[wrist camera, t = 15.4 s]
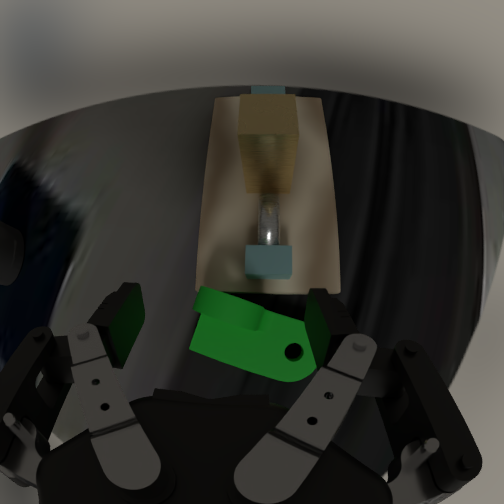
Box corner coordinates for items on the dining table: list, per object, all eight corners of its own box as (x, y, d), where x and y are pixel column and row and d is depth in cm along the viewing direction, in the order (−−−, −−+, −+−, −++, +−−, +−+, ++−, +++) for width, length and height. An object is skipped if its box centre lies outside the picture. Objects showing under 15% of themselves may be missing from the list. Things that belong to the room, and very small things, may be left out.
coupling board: (198, 292, 28) (186, 286, 23) (217, 105, 34) (211, 82, 29) (336, 293, 27) (349, 288, 23) (319, 105, 33) (323, 82, 29)
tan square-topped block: (246, 193, 28) (237, 134, 19) (247, 157, 30) (240, 94, 20) (289, 193, 28) (299, 134, 19) (288, 158, 29) (295, 94, 20)
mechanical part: (194, 347, 27) (167, 355, 19) (213, 292, 28) (192, 281, 20) (306, 384, 25) (321, 406, 17) (325, 328, 26) (348, 331, 19)
